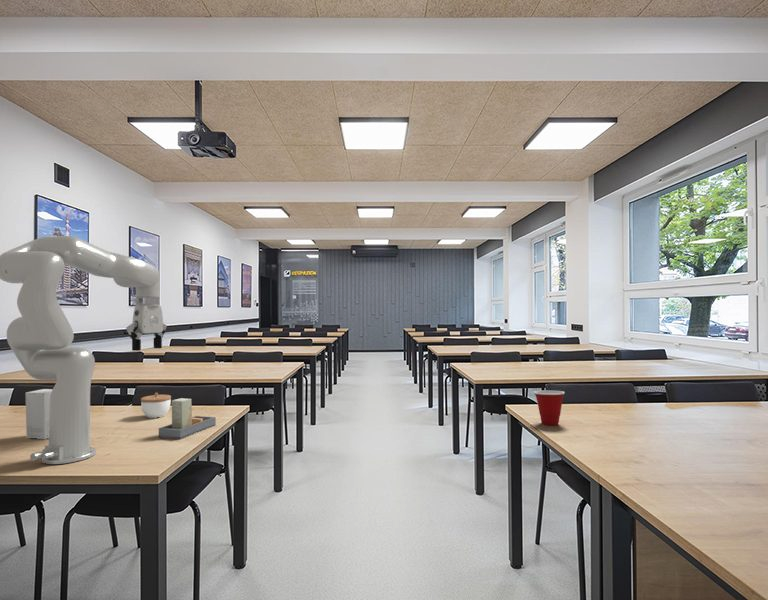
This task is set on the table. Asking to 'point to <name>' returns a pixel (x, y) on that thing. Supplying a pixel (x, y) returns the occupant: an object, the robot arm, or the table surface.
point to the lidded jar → (155, 405)
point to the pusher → (196, 420)
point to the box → (181, 413)
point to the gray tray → (187, 428)
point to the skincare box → (38, 413)
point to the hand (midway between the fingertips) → (147, 349)
